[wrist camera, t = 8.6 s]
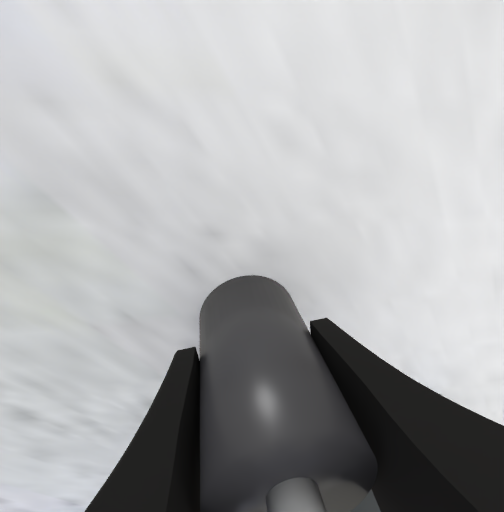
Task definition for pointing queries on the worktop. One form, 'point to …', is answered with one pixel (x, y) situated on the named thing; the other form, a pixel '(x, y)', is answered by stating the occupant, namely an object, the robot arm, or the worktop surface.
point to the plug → (272, 410)
